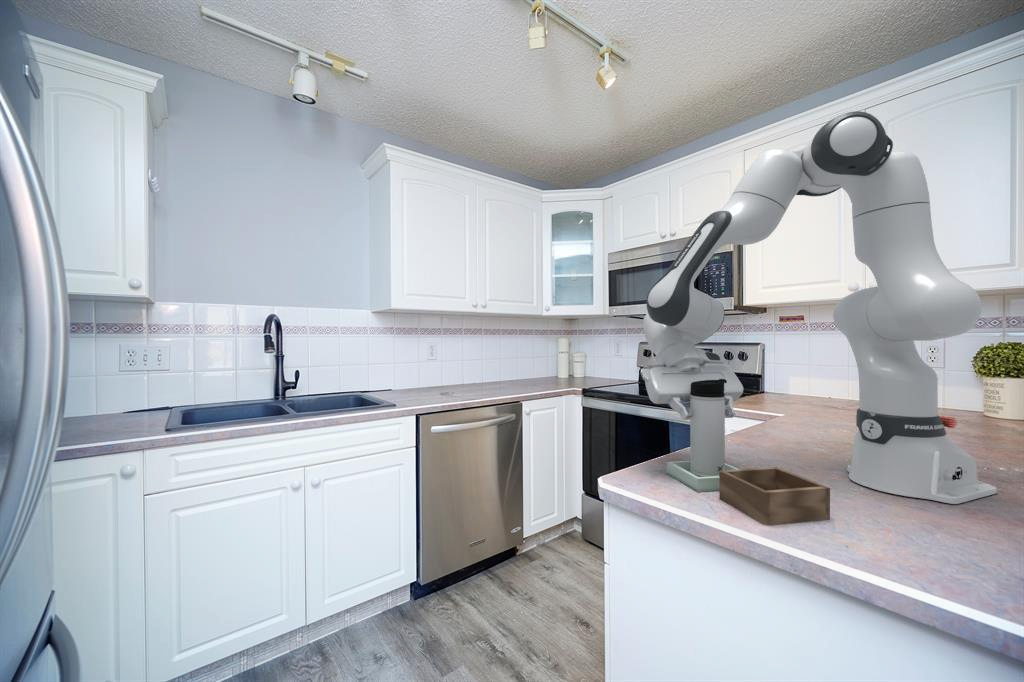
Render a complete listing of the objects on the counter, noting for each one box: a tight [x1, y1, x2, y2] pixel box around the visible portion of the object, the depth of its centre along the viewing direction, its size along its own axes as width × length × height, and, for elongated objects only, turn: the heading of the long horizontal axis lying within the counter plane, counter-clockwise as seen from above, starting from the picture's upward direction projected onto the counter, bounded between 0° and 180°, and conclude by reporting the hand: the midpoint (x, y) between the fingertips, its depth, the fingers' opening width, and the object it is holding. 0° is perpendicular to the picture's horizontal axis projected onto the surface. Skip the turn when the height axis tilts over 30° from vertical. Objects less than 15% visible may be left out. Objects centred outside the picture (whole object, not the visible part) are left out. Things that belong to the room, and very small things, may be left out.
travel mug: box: [689, 379, 727, 477], centre depth 83 cm, size 6×7×20 cm
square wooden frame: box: [718, 466, 831, 526], centre depth 69 cm, size 12×11×5 cm
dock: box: [666, 460, 740, 493], centre depth 83 cm, size 12×11×2 cm
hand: (709, 417), depth 82 cm, fingers open, 8 cm apart
